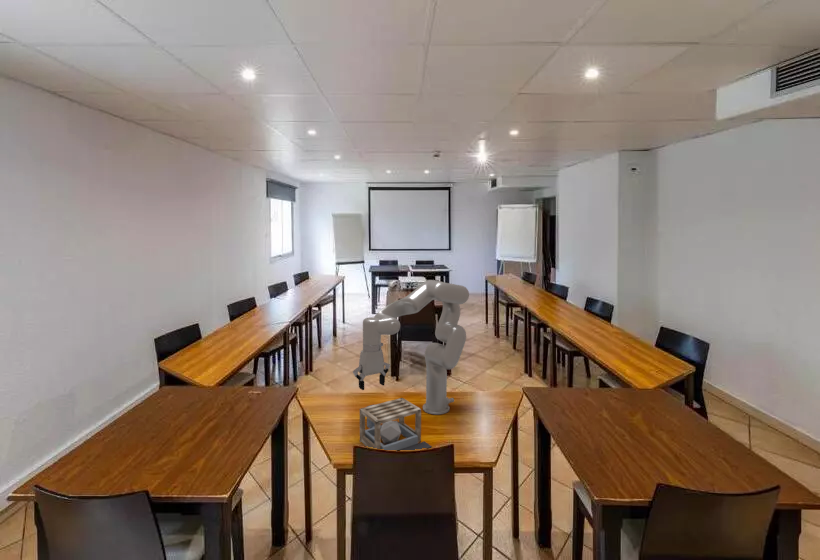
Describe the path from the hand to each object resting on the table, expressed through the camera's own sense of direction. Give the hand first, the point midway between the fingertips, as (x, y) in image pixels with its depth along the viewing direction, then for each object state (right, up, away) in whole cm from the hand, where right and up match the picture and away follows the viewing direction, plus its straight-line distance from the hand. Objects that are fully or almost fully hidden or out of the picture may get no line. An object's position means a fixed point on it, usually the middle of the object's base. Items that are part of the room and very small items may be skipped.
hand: (372, 386), depth 178 cm
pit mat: (+18, -20, -15) cm, 31 cm away
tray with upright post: (+6, -19, -6) cm, 21 cm away
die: (+8, -20, -10) cm, 23 cm away
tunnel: (+8, -19, -10) cm, 23 cm away
